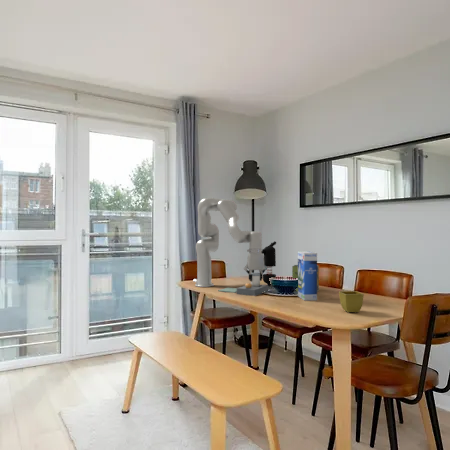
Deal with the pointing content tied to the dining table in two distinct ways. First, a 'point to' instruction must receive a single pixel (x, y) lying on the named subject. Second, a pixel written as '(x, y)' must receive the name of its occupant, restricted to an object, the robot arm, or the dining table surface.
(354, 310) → the flower pot
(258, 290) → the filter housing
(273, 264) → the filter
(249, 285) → the release plunger
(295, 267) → the protein box
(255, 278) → the dome-topped cylinder
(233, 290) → the mat
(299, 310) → the dining table surface
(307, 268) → the string lights box
